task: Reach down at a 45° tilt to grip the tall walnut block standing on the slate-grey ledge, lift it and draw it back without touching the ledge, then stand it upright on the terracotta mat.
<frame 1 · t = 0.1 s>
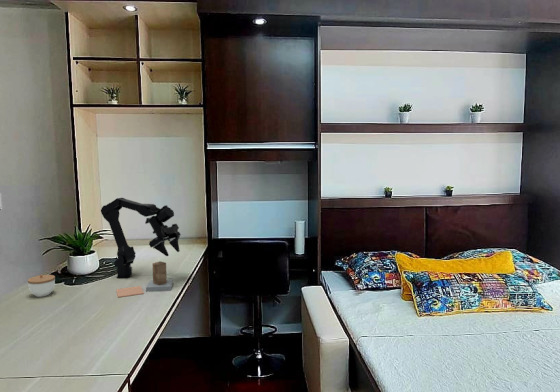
hand: (173, 253, 198), 15 cm above the table, tool tilted 35°, fingers open, 9 cm apart
walnut block: (159, 283, 193), point 2 cm above the table, touching grey ledge
terracotta mat: (129, 292, 186), on the table
lidded jar: (42, 294, 183), on the table
grey ledge: (160, 287, 193), on the table
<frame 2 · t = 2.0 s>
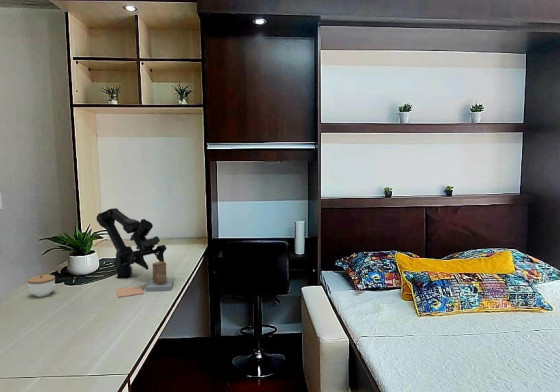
hand: (156, 266, 194), 10 cm above the table, tool tilted 45°, fingers open, 9 cm apart
nothing on the table moved.
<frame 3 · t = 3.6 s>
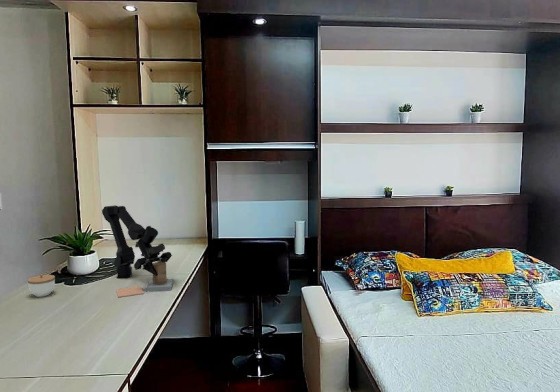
hand: (161, 274, 192), 7 cm above the table, tool tilted 45°, fingers closed on walnut block, 4 cm apart
walnut block: (159, 283, 193), point 2 cm above the table, touching grey ledge, gripper
everything else where it was.
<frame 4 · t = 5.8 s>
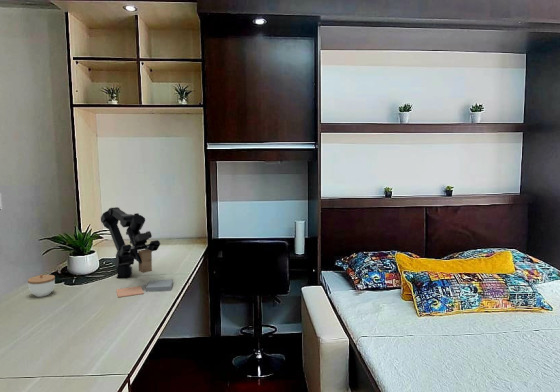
hand: (146, 262, 191), 13 cm above the table, tool tilted 45°, fingers closed on walnut block, 4 cm apart
walnut block: (145, 271, 192), point 8 cm above the table, touching gripper
everything else where it was.
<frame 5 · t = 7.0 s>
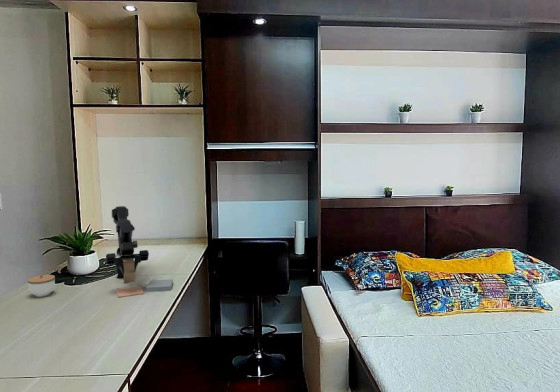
hand: (129, 272, 184), 10 cm above the table, tool tilted 45°, fingers closed on walnut block, 4 cm apart
walnut block: (129, 281, 186), point 5 cm above the table, touching gripper
everything else where it was.
when the fingers open (6 cm above the table, at t = 8.0 s): walnut block drops 1 cm, resting on terracotta mat.
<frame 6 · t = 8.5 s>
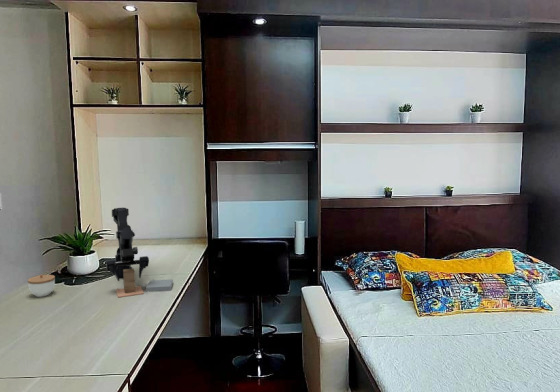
hand: (129, 279, 184), 7 cm above the table, tool tilted 45°, fingers open, 9 cm apart
walnut block: (129, 291, 186), resting on terracotta mat
everything else where it was.
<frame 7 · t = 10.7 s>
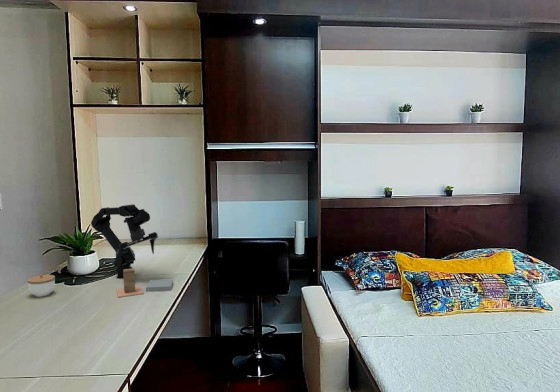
hand: (144, 257, 201), 13 cm above the table, tool tilted 25°, fingers open, 9 cm apart
nothing on the table moved.
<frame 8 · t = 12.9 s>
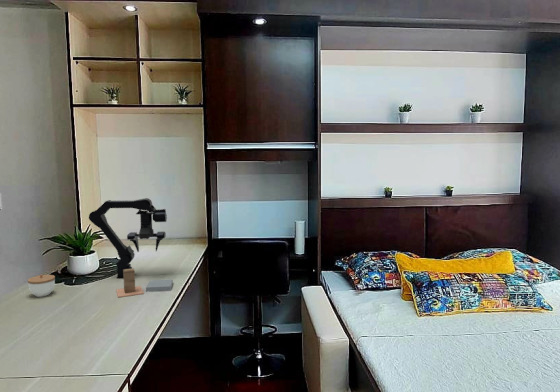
hand: (147, 251, 211), 13 cm above the table, tool pointing down, fingers open, 9 cm apart
nothing on the table moved.
at the end: walnut block inside the target area on the terracotta mat (0.0 cm from its centre), point 0.5 cm above the terracotta mat's base; walnut block tilted 0°; walnut block touching terracotta mat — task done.
